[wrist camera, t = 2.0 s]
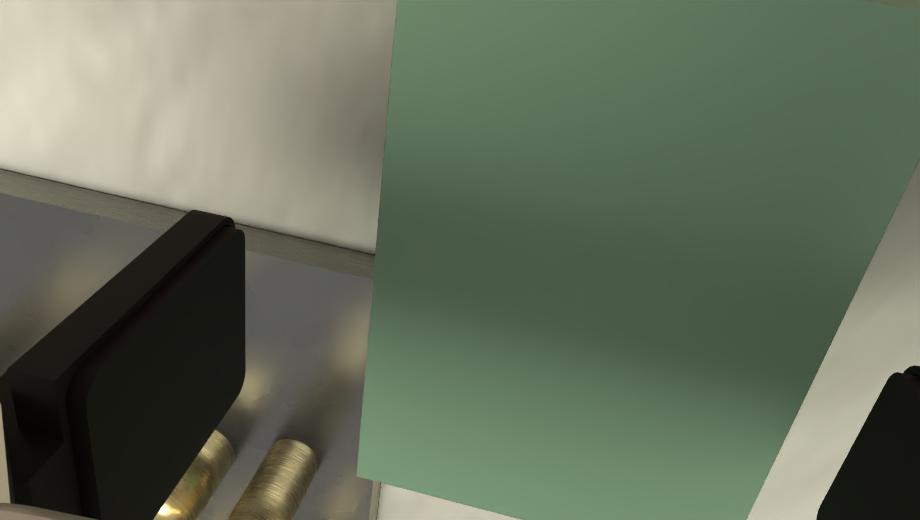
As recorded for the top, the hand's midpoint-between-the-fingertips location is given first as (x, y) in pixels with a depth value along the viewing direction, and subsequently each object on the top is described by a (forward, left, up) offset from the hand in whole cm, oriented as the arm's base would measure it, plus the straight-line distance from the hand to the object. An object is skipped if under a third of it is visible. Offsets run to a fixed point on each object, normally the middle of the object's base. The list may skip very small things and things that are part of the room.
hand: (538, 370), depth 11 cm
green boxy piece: (-1, -1, -6) cm, 6 cm away
